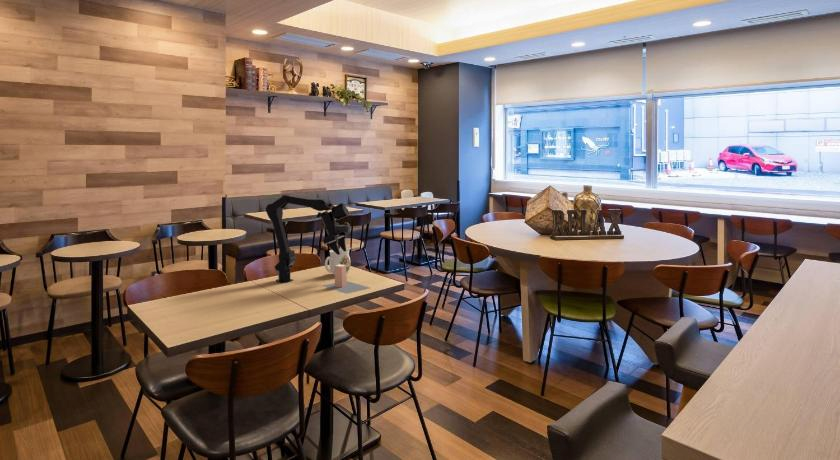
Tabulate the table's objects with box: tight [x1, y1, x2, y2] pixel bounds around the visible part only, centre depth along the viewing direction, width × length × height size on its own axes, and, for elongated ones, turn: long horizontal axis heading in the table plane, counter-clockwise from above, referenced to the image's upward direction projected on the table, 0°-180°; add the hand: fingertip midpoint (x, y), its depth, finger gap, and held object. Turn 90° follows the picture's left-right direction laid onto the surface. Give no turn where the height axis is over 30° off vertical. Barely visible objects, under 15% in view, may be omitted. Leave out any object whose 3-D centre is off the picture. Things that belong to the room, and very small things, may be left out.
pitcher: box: [324, 246, 352, 277], centre depth 265 cm, size 11×18×14 cm, turn 142°
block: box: [334, 264, 348, 287], centre depth 242 cm, size 4×4×10 cm
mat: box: [322, 280, 370, 295], centre depth 241 cm, size 20×14×1 cm
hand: (342, 252), depth 247 cm, fingers open, 9 cm apart
